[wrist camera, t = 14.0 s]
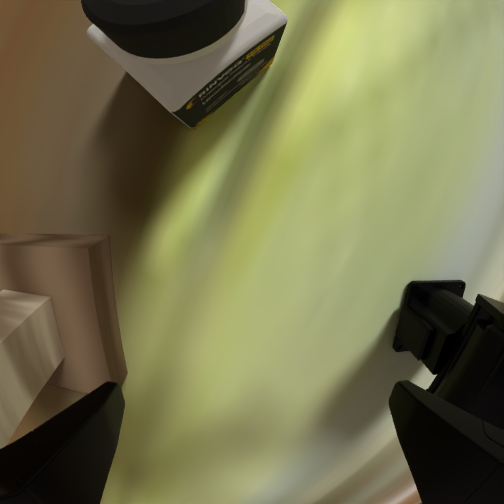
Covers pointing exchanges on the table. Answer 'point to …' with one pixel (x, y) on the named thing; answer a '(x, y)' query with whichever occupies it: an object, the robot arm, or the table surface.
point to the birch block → (25, 354)
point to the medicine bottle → (188, 47)
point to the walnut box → (71, 301)
